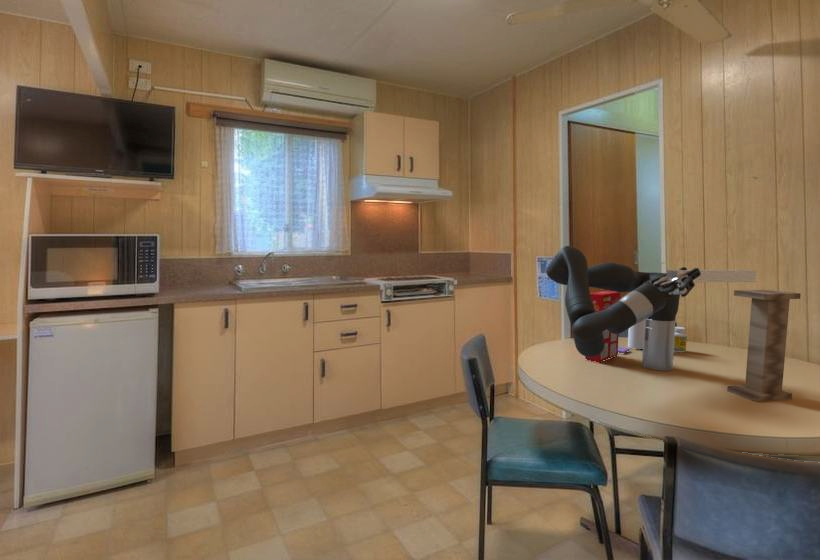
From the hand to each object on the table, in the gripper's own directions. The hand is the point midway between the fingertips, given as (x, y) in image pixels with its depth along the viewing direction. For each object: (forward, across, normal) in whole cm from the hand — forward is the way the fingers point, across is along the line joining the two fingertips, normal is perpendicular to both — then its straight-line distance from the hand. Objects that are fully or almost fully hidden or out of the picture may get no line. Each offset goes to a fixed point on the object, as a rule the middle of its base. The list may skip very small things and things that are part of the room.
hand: (692, 270), depth 114 cm
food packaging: (-12, -48, -36) cm, 61 cm away
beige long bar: (+4, 0, -6) cm, 7 cm away
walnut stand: (+7, -4, -46) cm, 46 cm away
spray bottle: (+9, -59, -47) cm, 76 cm away
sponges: (-2, -58, -42) cm, 72 cm away
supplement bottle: (+21, -52, -54) cm, 78 cm away
